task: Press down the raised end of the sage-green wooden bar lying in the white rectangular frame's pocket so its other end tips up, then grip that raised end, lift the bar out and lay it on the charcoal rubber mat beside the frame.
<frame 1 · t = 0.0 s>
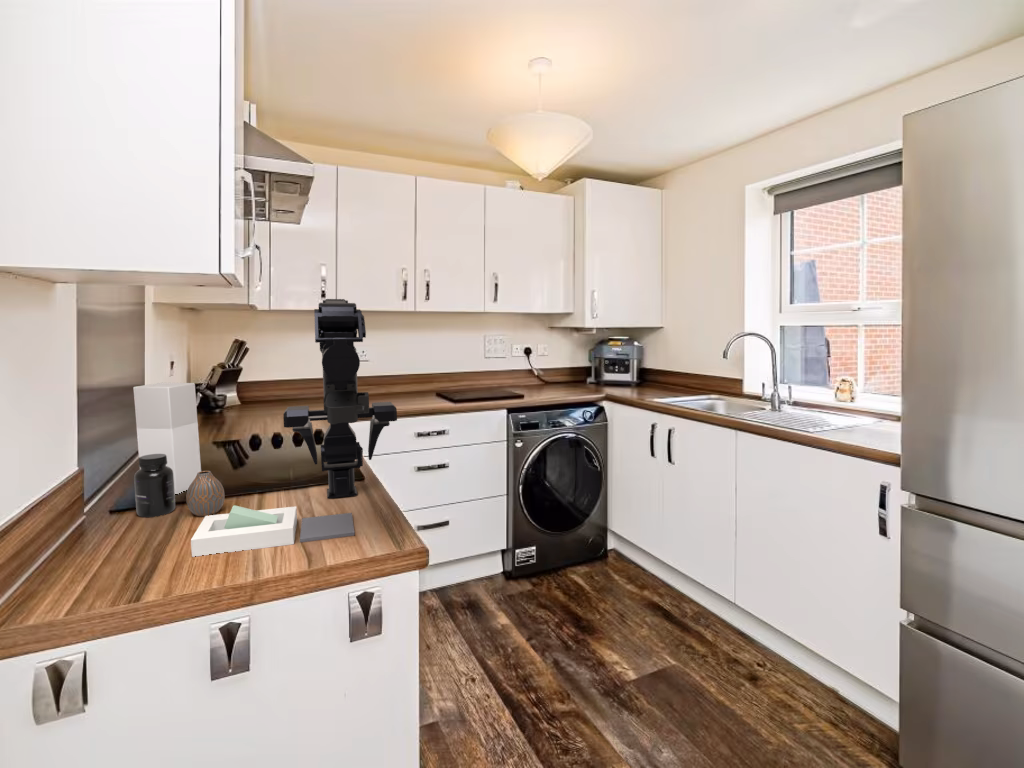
hand: (343, 461, 96), 15 cm above the counter, tool pointing down, fingers open, 9 cm apart
vase: (206, 514, 112), on the counter
tall white carton: (172, 489, 128), on the counter
supplement bottle: (156, 513, 112), on the counter
white rectangular frame: (248, 537, 99), on the counter
sage block: (249, 529, 99), point 2 cm above the counter, tilted 22°, touching white rectangular frame
rubber mat: (327, 528, 104), on the counter
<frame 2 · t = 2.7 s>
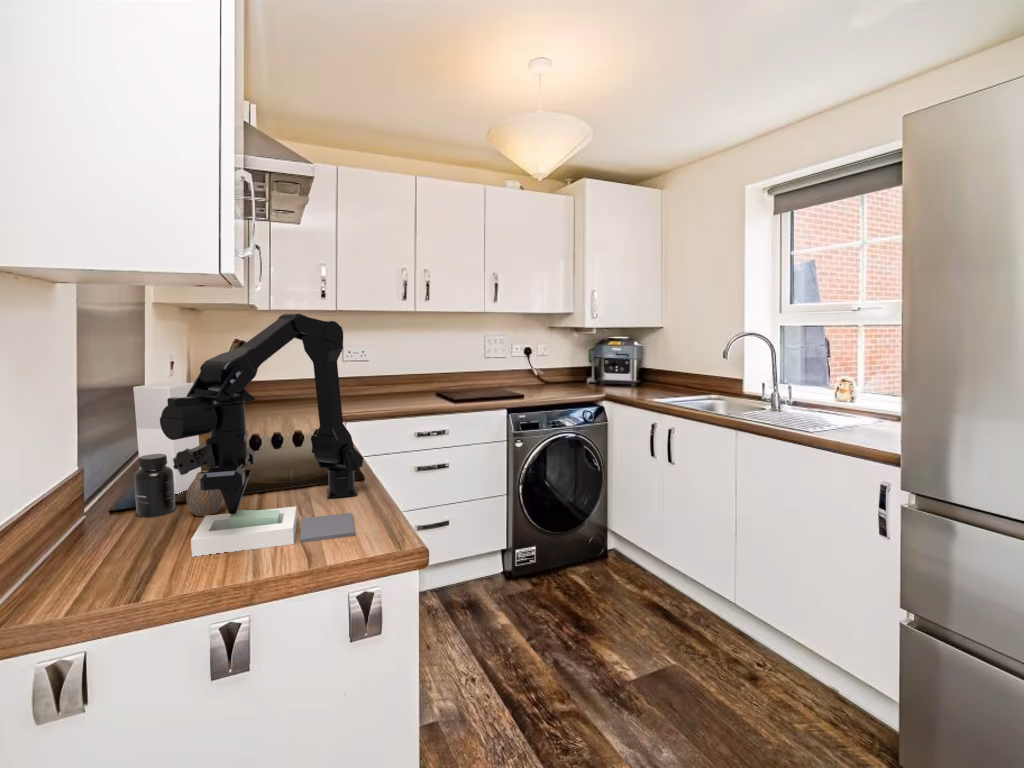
hand: (233, 513, 98), 5 cm above the counter, tool pointing down, fingers closed, pressing on sage block
sage block: (253, 529, 99), point 1 cm above the counter, tilted 8°, touching gripper
everything else where it was.
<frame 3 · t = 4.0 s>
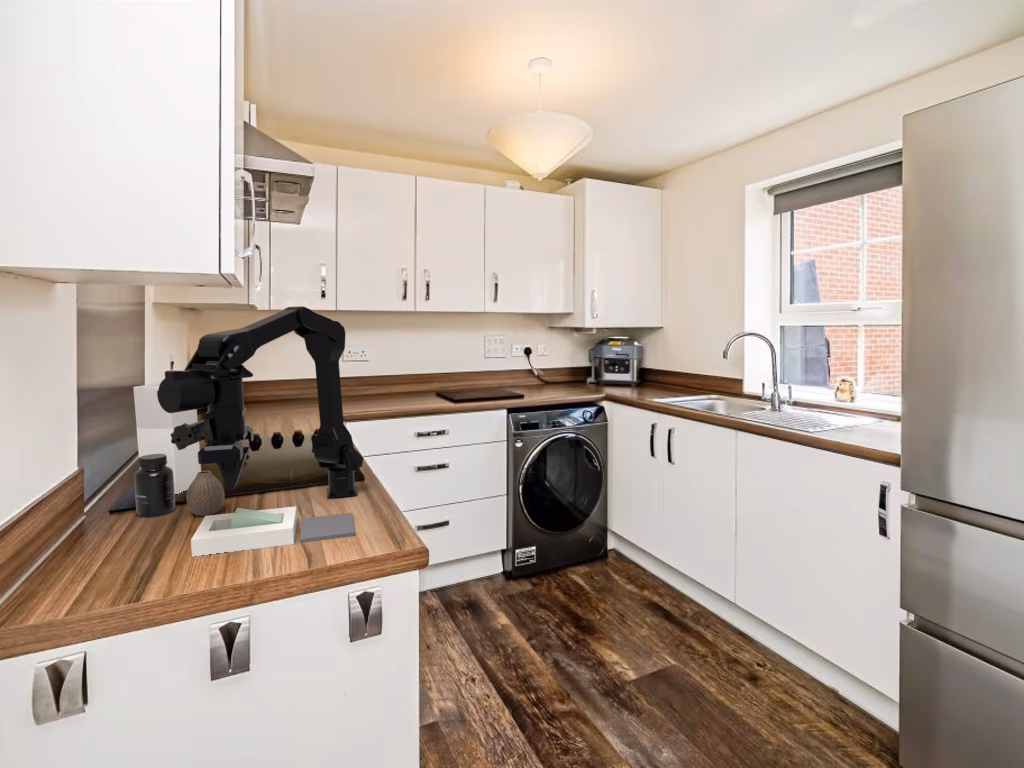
hand: (231, 489, 97), 9 cm above the counter, tool pointing down, fingers closed
sage block: (254, 530, 99), point 1 cm above the counter, tilted 18°, touching white rectangular frame
everything else where it was.
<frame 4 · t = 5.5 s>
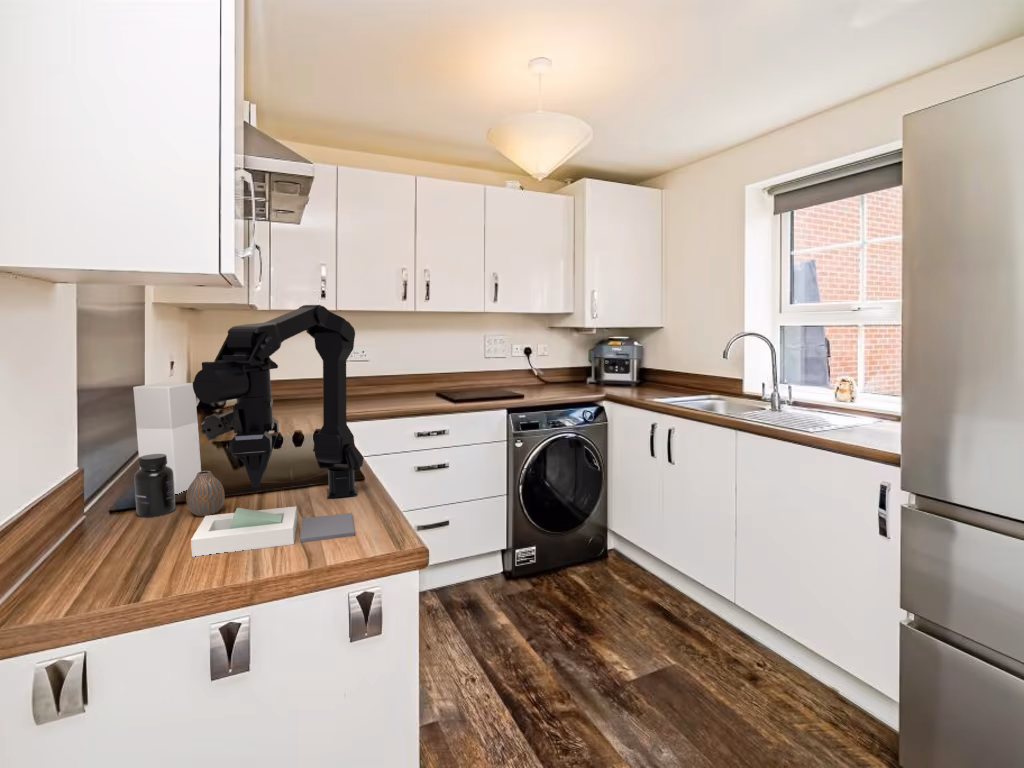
hand: (258, 479, 99), 11 cm above the counter, tool pointing down, fingers open, 9 cm apart
nothing on the counter moved.
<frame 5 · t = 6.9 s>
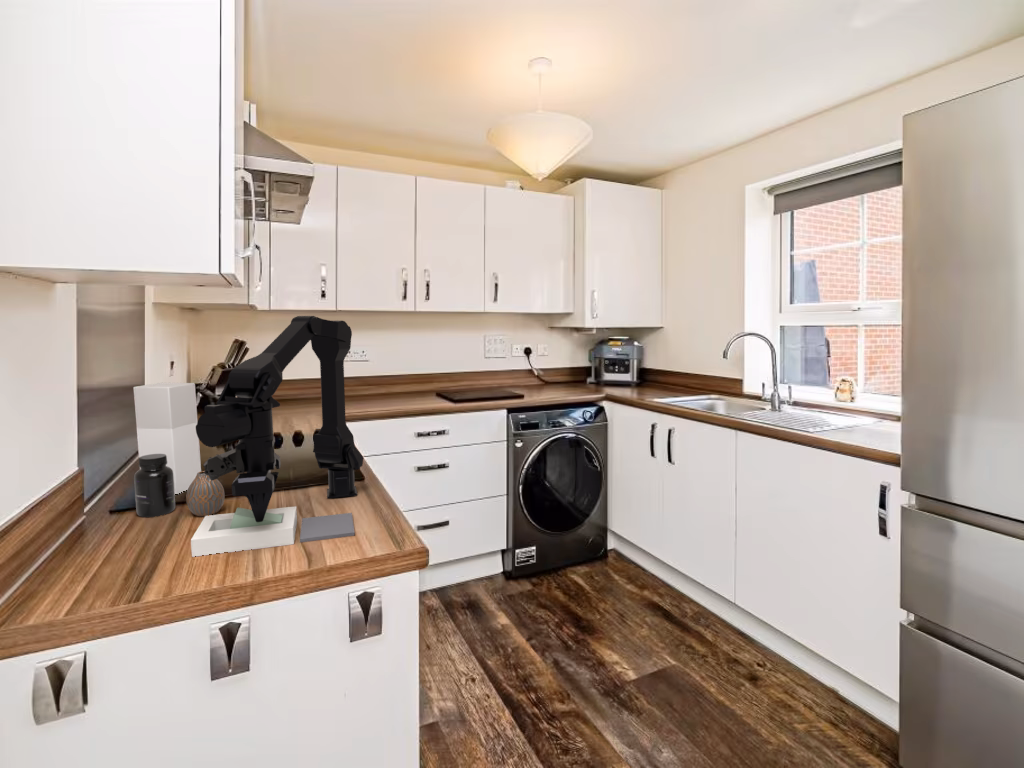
hand: (260, 517, 99), 4 cm above the counter, tool pointing down, fingers closed on sage block, 4 cm apart
sage block: (254, 530, 99), point 1 cm above the counter, tilted 18°, touching gripper, white rectangular frame
everything else where it was.
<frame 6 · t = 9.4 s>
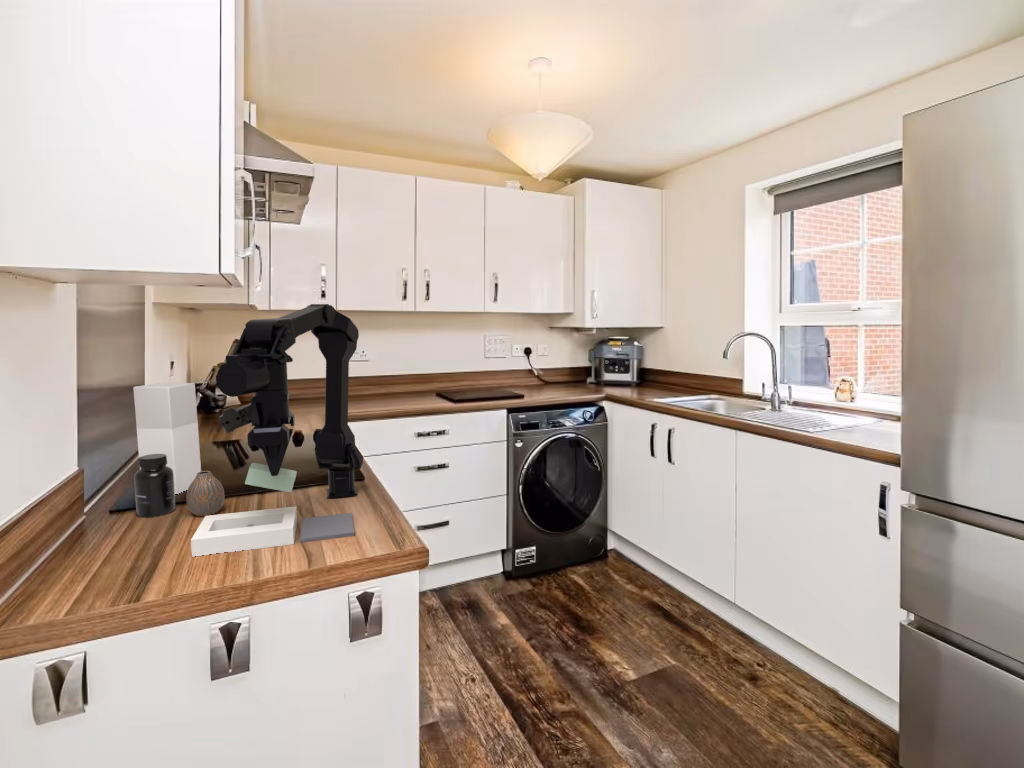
hand: (275, 472, 100), 12 cm above the counter, tool pointing down, fingers closed on sage block, 4 cm apart
sage block: (269, 485, 100), point 9 cm above the counter, tilted 18°, touching gripper
everything else where it was.
when the fingers open (5 cm above the counter, at t = 12.1 s): sage block drops 2 cm, resting on rubber mat.
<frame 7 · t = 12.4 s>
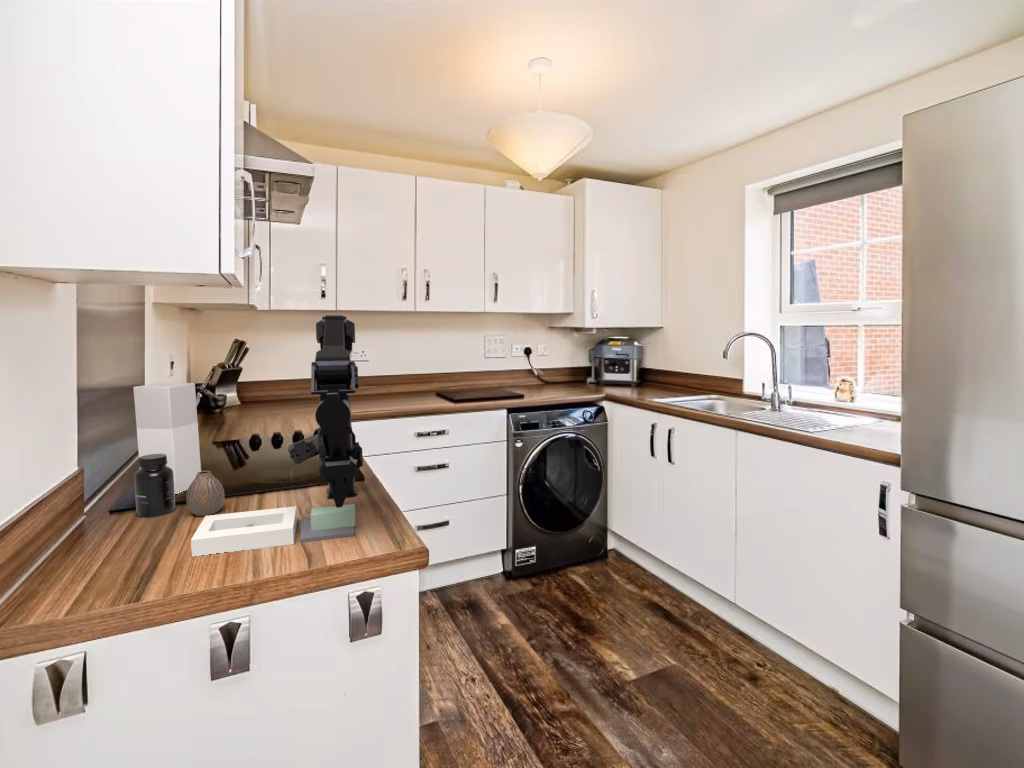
hand: (338, 501, 104), 5 cm above the counter, tool pointing down, fingers open, 7 cm apart
sage block: (333, 524, 104), point 1 cm above the counter, touching rubber mat
everything else where it was.
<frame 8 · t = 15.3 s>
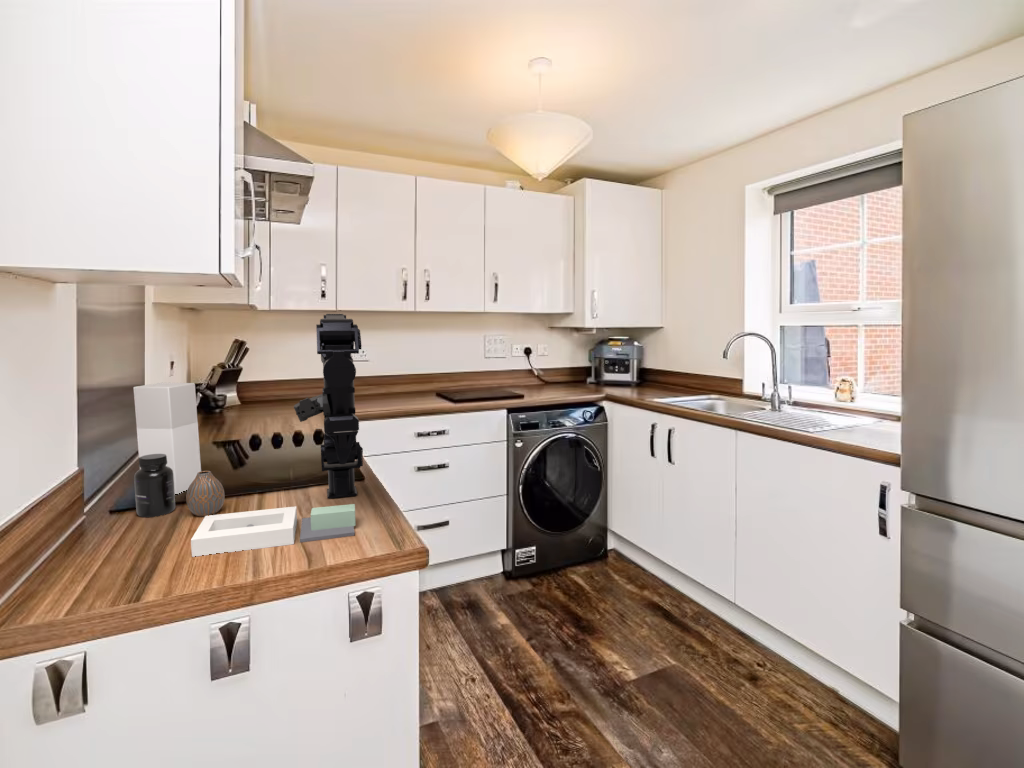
hand: (341, 458, 109), 12 cm above the counter, tool pointing down, fingers open, 9 cm apart
nothing on the counter moved.
at the end: sage block inside the target area on the rubber mat (1.2 cm from its centre), point 0.6 cm above the rubber mat's base; sage block tilted 0°; the gripper is holding nothing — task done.
